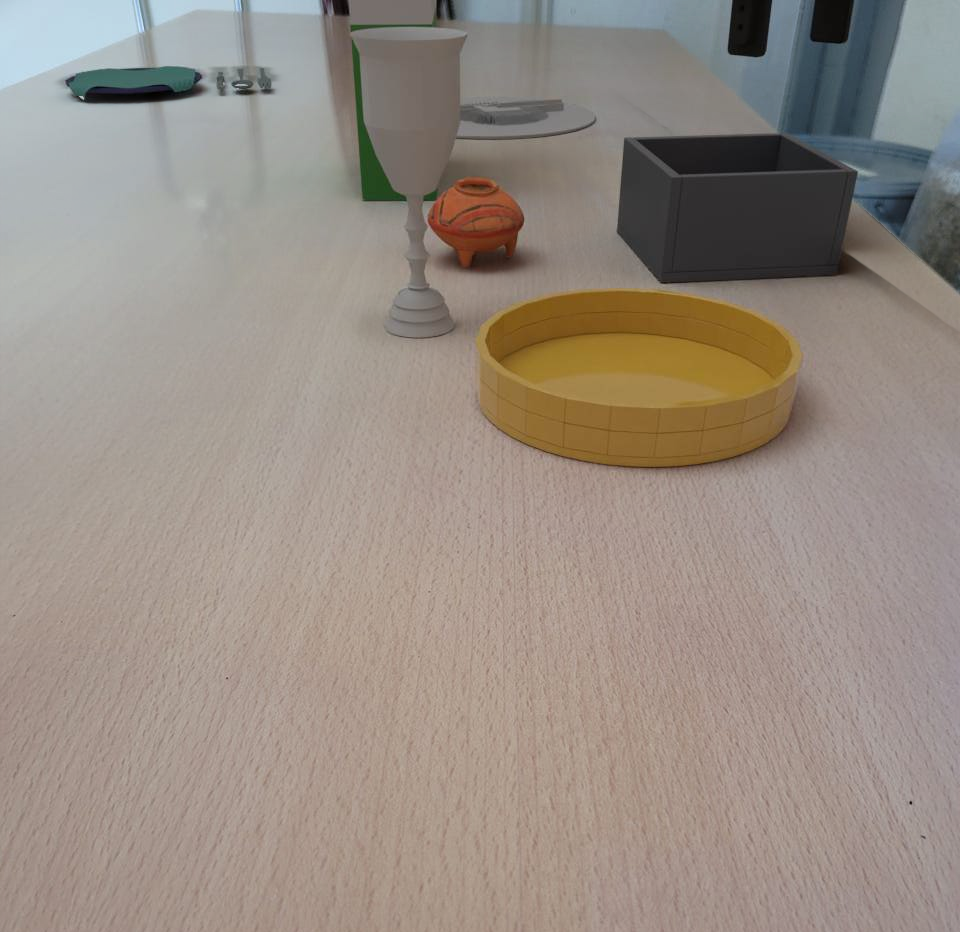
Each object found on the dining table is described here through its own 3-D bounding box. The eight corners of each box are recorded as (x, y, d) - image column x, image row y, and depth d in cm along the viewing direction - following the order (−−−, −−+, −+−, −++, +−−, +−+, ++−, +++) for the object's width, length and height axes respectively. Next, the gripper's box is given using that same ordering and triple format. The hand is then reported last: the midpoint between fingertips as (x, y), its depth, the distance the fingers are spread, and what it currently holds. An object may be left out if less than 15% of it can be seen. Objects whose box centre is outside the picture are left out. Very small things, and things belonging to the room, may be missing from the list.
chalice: (352, 334, 70) (329, 37, 59) (392, 304, 75) (377, 25, 64) (449, 347, 68) (443, 42, 57) (483, 315, 73) (484, 29, 62)
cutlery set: (75, 84, 157) (71, 67, 155) (268, 77, 162) (266, 61, 160) (60, 106, 141) (55, 87, 140) (274, 98, 146) (272, 80, 145)
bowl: (729, 332, 70) (737, 282, 68) (843, 455, 55) (858, 396, 53) (459, 345, 68) (459, 294, 66) (501, 478, 53) (502, 417, 51)
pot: (509, 236, 88) (517, 159, 83) (527, 285, 83) (536, 207, 78) (419, 238, 87) (422, 160, 82) (432, 287, 82) (435, 208, 77)
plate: (549, 94, 148) (549, 85, 147) (630, 130, 127) (631, 119, 126) (365, 106, 141) (364, 96, 140) (418, 145, 120) (417, 134, 119)
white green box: (375, 160, 114) (359, -102, 99) (440, 160, 114) (433, -103, 99) (362, 200, 100) (341, -99, 85) (436, 199, 100) (428, -100, 85)
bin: (771, 225, 92) (786, 132, 87) (836, 275, 81) (858, 171, 76) (616, 232, 91) (624, 137, 86) (660, 283, 79) (671, 177, 74)
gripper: (789, -262, 60) (752, 65, 70) (952, -251, 68) (898, 41, 78) (695, -248, 65) (673, 57, 75) (858, -239, 73) (818, 34, 83)
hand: (788, 48), depth 76 cm, fingers open, 9 cm apart
